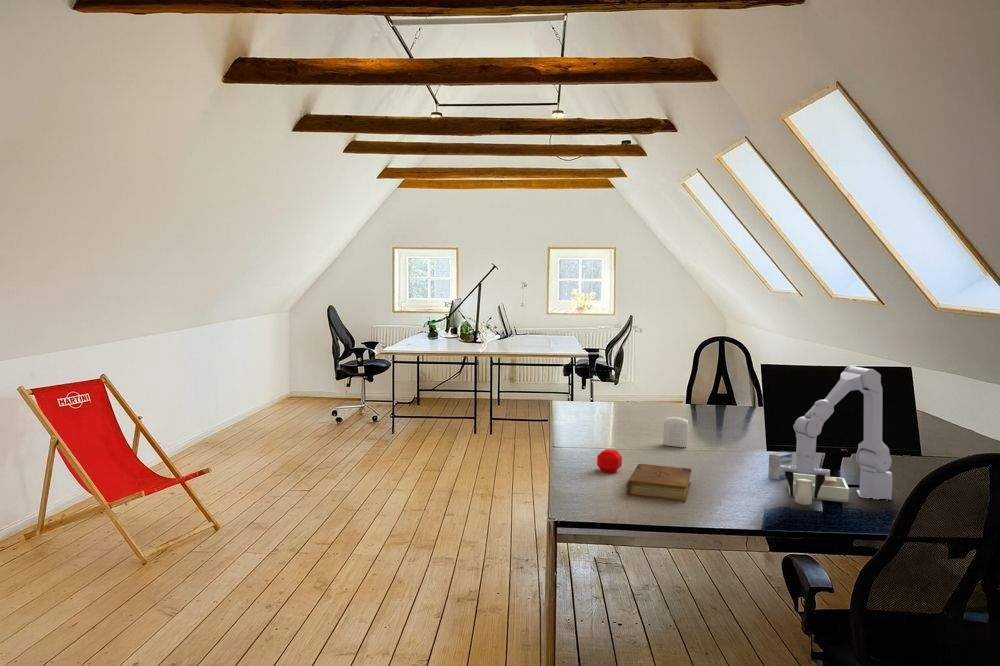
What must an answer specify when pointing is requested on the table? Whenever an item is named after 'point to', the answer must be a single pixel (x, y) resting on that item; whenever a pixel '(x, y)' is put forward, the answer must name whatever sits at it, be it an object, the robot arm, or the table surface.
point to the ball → (609, 460)
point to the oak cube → (830, 481)
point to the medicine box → (778, 464)
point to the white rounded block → (676, 432)
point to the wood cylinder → (803, 491)
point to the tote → (825, 489)
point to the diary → (659, 482)
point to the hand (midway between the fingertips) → (803, 496)
